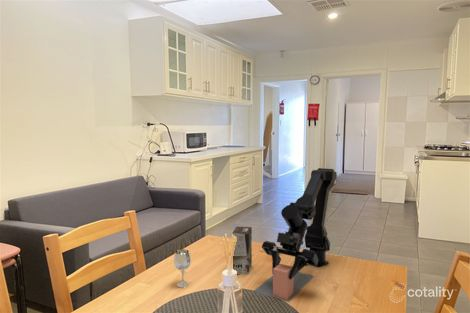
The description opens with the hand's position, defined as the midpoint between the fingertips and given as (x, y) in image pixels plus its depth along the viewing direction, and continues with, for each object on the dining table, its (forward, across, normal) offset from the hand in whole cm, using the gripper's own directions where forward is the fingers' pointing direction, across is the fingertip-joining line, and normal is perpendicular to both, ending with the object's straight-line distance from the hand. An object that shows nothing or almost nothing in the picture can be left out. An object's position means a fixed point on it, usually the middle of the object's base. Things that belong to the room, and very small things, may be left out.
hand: (281, 276), depth 110 cm
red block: (+4, 0, +6) cm, 7 cm away
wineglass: (+13, -33, -3) cm, 36 cm away
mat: (-1, -3, +11) cm, 12 cm away
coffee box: (-2, -22, +13) cm, 25 cm away
